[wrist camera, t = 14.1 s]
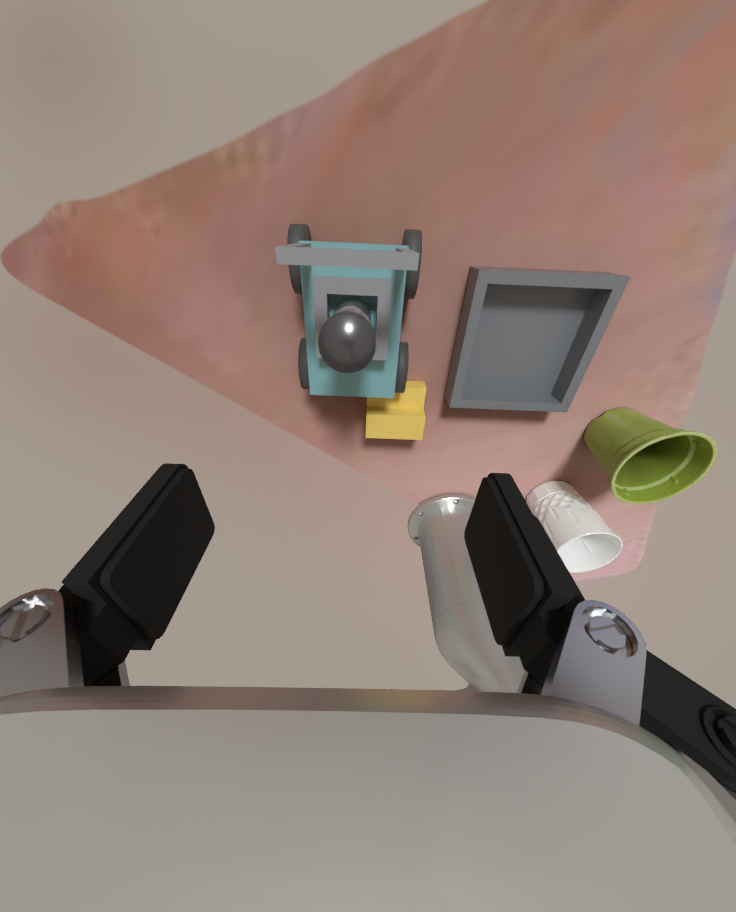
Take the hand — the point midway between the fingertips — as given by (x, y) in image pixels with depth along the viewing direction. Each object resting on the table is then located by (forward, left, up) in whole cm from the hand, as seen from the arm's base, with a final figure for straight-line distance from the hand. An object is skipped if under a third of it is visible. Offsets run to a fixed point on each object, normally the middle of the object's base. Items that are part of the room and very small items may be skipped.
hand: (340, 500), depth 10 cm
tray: (-1, -16, -26) cm, 31 cm away
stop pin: (+2, +1, -20) cm, 20 cm away
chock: (-9, -4, -26) cm, 28 cm away
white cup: (-23, -28, -26) cm, 45 cm away
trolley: (+1, +1, -26) cm, 26 cm away
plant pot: (-11, -31, -26) cm, 43 cm away
